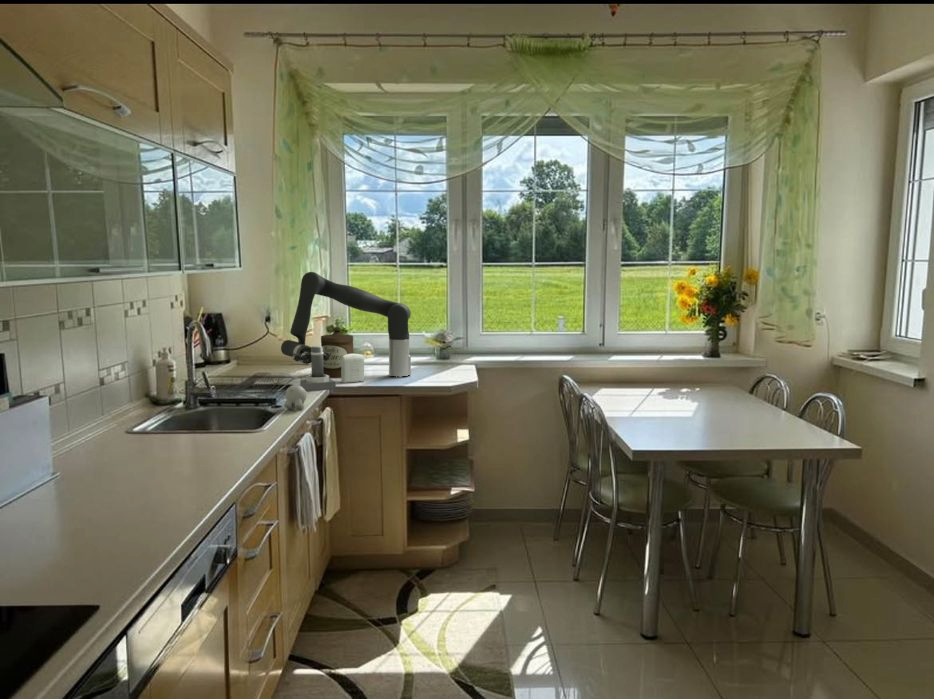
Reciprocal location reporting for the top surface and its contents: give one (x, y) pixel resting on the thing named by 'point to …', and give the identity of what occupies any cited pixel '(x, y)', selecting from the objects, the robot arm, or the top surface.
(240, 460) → the top surface
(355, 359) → the photo printer
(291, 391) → the chubby cartoon animal
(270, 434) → the top surface
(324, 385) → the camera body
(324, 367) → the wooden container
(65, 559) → the top surface
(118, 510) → the top surface
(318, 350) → the grey bottle
